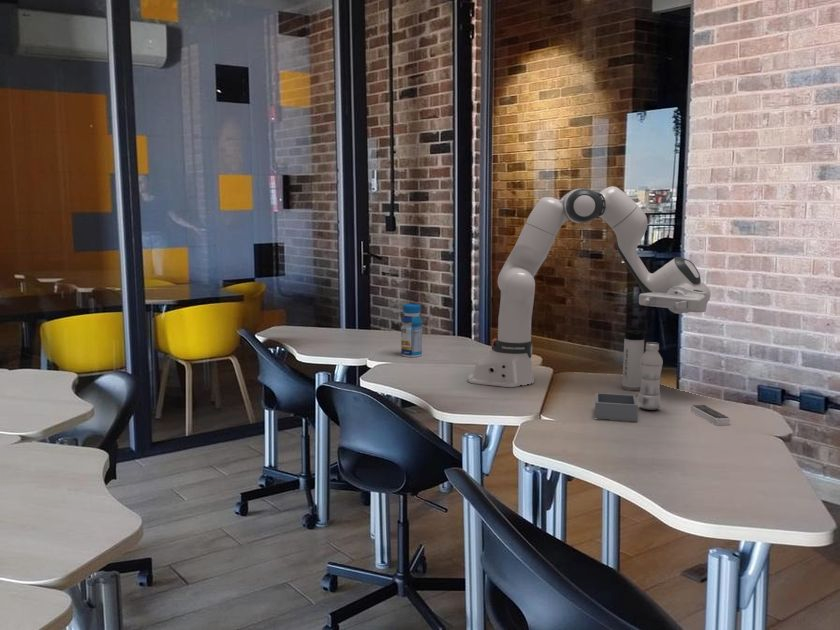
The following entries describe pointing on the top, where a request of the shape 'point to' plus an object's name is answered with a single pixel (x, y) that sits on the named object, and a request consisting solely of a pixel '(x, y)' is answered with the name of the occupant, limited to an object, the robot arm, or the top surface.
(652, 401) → the plastic bottle
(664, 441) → the top surface
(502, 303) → the robot arm
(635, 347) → the travel mug
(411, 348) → the beverage bottle
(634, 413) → the gray open square bin
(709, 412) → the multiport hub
